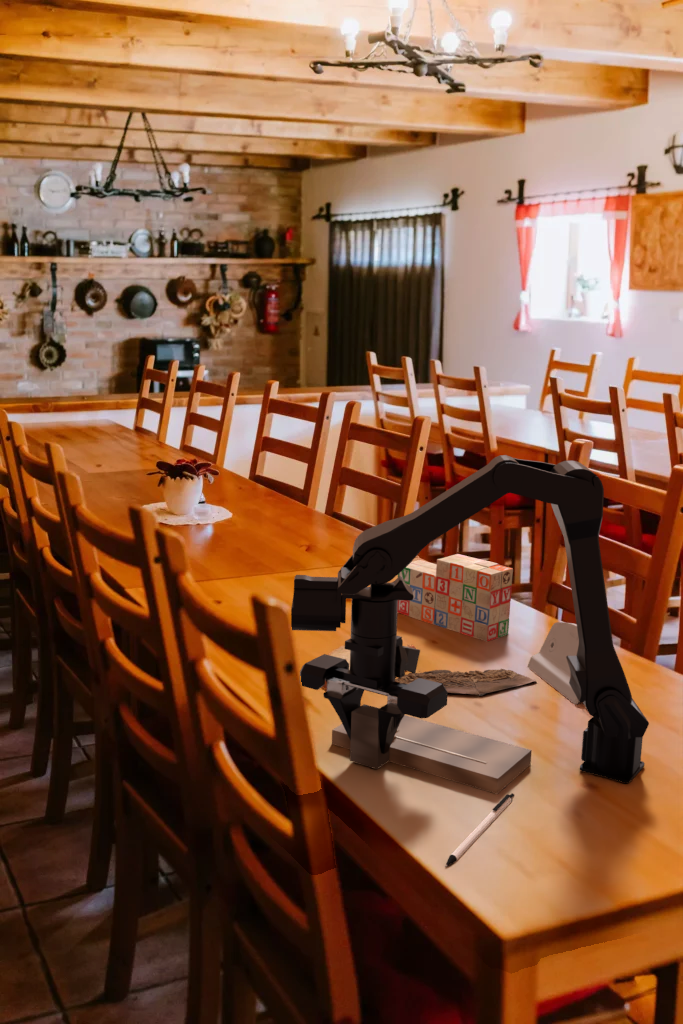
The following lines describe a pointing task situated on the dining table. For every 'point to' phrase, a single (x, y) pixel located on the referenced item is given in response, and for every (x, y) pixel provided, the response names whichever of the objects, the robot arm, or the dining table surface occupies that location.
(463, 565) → the stack of blocks
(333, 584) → the robot arm
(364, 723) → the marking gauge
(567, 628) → the beige ledged stand
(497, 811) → the pen
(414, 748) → the gray rectangular board
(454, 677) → the wooden fragment
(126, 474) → the dining table surface
